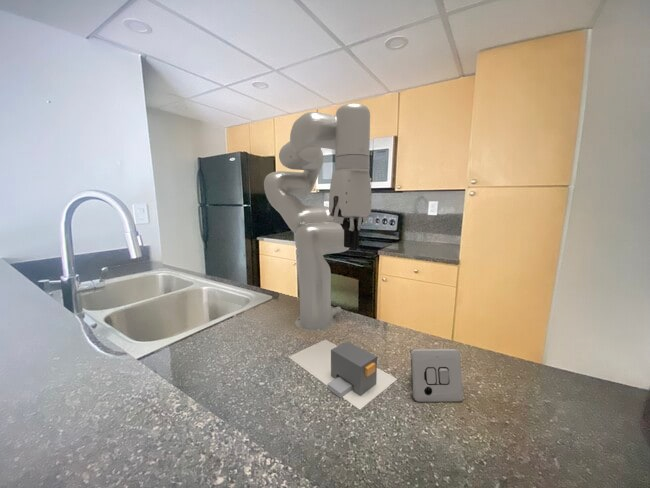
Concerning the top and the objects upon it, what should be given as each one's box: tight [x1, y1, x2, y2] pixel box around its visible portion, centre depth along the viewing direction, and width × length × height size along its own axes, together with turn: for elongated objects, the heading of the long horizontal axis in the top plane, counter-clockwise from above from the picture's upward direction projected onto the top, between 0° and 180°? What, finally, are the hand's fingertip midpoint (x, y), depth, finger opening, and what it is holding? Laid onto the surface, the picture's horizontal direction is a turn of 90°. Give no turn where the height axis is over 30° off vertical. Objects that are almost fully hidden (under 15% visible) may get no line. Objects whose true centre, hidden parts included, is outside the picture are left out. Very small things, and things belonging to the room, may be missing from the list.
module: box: [331, 340, 378, 396], centre depth 53 cm, size 5×9×6 cm, turn 43°
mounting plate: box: [288, 339, 398, 410], centre depth 58 cm, size 12×22×2 cm, turn 42°
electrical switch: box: [409, 348, 464, 403], centre depth 51 cm, size 9×5×9 cm, turn 90°
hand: (351, 247), depth 61 cm, fingers closed
